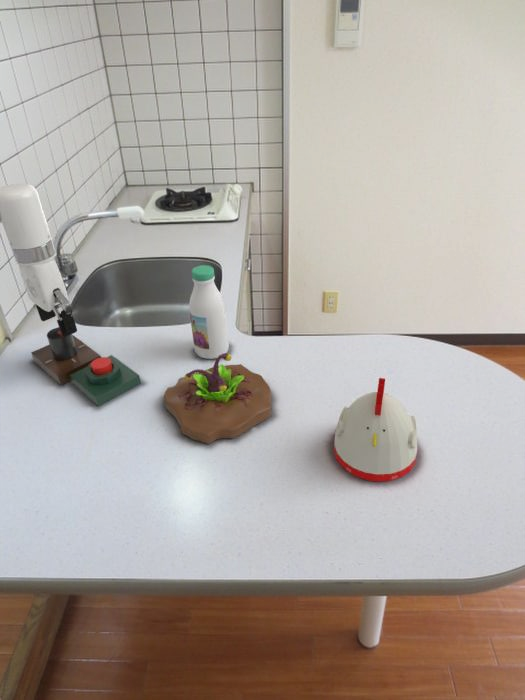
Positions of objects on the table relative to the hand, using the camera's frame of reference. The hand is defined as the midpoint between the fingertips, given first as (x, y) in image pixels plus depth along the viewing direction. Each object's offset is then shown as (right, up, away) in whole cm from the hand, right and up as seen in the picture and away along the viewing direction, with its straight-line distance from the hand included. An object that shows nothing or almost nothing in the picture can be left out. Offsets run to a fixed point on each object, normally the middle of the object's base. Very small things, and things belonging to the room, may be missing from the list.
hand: (59, 326), depth 111 cm
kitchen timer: (+62, -23, -21) cm, 70 cm away
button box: (+10, -12, -1) cm, 16 cm away
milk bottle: (+32, -5, +7) cm, 33 cm away
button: (+10, -9, -3) cm, 14 cm away
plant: (+35, -16, -9) cm, 39 cm away
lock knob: (0, -6, +4) cm, 7 cm away
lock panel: (0, -8, +5) cm, 10 cm away
